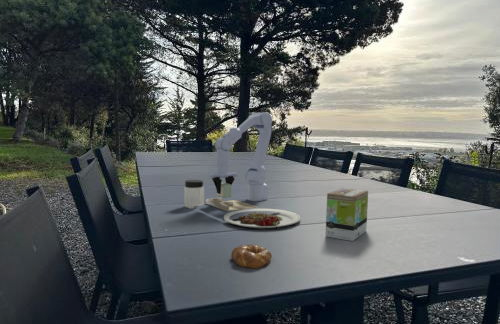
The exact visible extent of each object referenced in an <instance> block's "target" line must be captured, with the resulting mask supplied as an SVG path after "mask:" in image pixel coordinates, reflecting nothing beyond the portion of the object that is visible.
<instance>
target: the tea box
mask: <svg viewBox="0 0 500 324" xmlns="http://www.w3.org/2000/svg"><path fill="white" fill-rule="evenodd" d="M368 199H369V191H368V190H364V189H363V190H361V189H353V188H343V187H342V188H339V189H336V190H334V191H331V192H327V193H326V214H325V215H326V216H325V217H326V218H325V237H327V238H332V239H338V240H344V241H350V242H351V241H352V242H354V241H355V240H356V239H358V238H359V237H360V236H362V235H363V234H364V233H366V232H367V228H368V227H367V223H368V222H367V221H368V202H369V200H368Z"/></svg>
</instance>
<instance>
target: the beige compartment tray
mask: <svg viewBox="0 0 500 324" xmlns="http://www.w3.org/2000/svg"><path fill="white" fill-rule="evenodd" d="M205 204H207V205H210V206H212V207H214V208H217V209H220V210H223V211H225V212H232V211H236V210H243V209H257V206H256V205H252V204H251V203H246V202H243V201H240V200H238V199H233V200H223V198H221V197H214V198H205Z"/></svg>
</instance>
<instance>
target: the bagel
mask: <svg viewBox="0 0 500 324" xmlns="http://www.w3.org/2000/svg"><path fill="white" fill-rule="evenodd" d="M230 255H231V256H230V257H231V259H232V261H233V262H235V264H237V265H238V266H240V267H243V268H249V269H260V268H262V267H264V266H265V265H268V264H270V262H271V259H272V253H271V251H270V250H268V249H267V248H265V247H263V246H259V245H256V244H254V243H253V244H247V245H245V244H242V245H239V246H236V247H234V248H233V249H232V251H231V254H230Z"/></svg>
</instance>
